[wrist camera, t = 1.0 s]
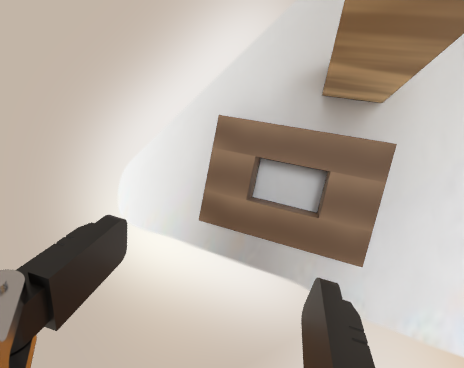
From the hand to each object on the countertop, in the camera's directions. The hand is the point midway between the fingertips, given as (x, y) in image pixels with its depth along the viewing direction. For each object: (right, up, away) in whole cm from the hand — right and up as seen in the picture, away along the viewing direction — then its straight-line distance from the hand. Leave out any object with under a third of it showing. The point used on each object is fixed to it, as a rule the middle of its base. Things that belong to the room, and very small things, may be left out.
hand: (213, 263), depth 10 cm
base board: (+7, +3, +16) cm, 18 cm away
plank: (+13, +13, +14) cm, 23 cm away
